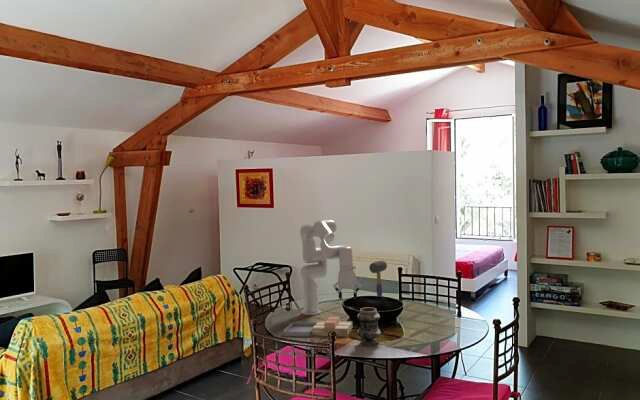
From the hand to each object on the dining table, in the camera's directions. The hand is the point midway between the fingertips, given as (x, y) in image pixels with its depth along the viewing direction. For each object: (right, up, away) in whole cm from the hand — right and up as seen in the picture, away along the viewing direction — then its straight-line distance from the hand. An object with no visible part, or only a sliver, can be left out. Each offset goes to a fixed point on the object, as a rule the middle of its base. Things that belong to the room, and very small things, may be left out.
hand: (347, 299), depth 287 cm
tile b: (-10, -15, -4) cm, 18 cm away
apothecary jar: (+10, -18, -24) cm, 32 cm away
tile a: (-8, -14, +3) cm, 17 cm away
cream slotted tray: (-9, -18, 0) cm, 20 cm away
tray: (-27, -19, +4) cm, 33 cm away
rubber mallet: (+25, -15, +55) cm, 62 cm away
